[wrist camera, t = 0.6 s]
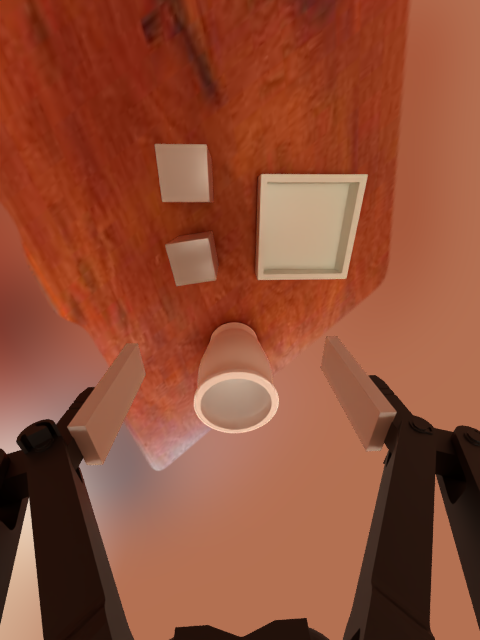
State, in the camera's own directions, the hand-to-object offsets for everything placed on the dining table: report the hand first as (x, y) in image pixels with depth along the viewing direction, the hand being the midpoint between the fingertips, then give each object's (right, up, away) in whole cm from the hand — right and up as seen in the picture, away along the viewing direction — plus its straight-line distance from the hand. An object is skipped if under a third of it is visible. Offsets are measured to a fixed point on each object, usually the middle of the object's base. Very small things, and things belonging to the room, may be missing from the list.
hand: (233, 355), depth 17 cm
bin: (+9, +16, +18) cm, 25 cm away
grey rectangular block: (-6, +13, +18) cm, 23 cm away
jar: (-1, -1, +26) cm, 26 cm away
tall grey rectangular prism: (-6, +21, +14) cm, 26 cm away
